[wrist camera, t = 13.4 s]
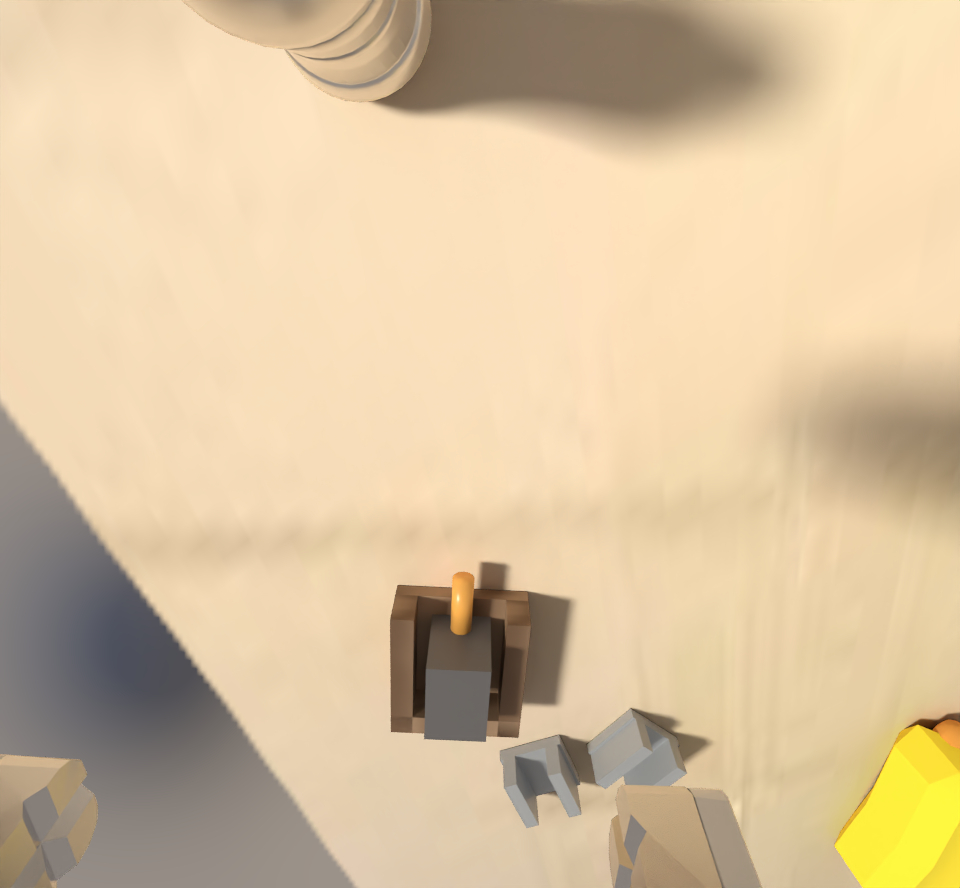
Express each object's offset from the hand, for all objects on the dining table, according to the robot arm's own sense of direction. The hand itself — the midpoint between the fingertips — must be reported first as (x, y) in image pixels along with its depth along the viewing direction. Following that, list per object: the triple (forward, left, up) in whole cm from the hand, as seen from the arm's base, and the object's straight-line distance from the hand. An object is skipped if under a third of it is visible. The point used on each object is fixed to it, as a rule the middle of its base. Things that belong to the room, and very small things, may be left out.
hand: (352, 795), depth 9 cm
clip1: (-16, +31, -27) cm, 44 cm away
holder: (-2, +22, -27) cm, 35 cm away
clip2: (-9, +34, -27) cm, 45 cm away
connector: (-2, +20, -26) cm, 33 cm away
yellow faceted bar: (-38, +35, -28) cm, 59 cm away
